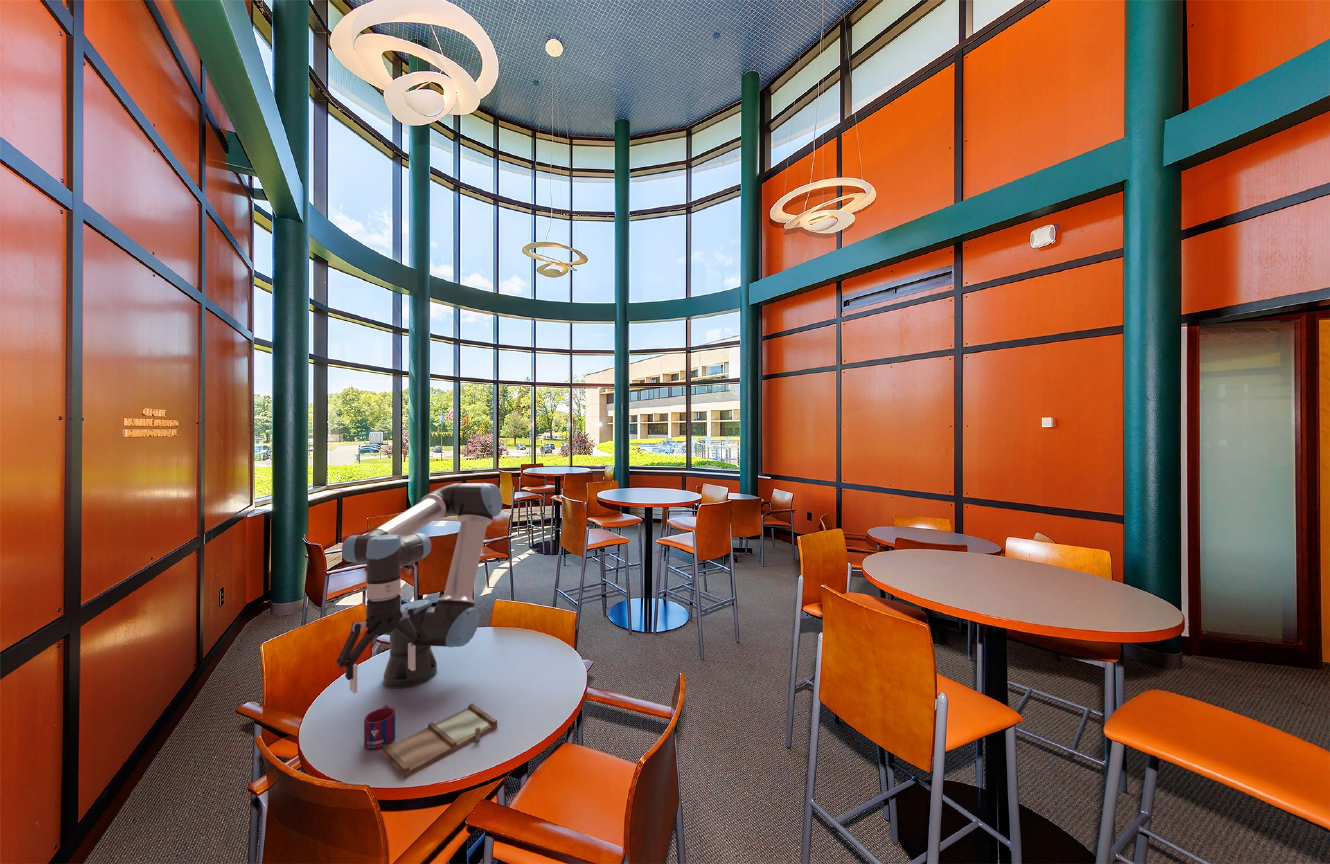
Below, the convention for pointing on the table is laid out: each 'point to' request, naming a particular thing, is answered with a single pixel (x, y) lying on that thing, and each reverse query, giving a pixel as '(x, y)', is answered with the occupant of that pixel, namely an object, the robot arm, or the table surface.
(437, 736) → the brown divided flat frame
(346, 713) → the table surface
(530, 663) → the table surface
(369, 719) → the mug
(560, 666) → the table surface
